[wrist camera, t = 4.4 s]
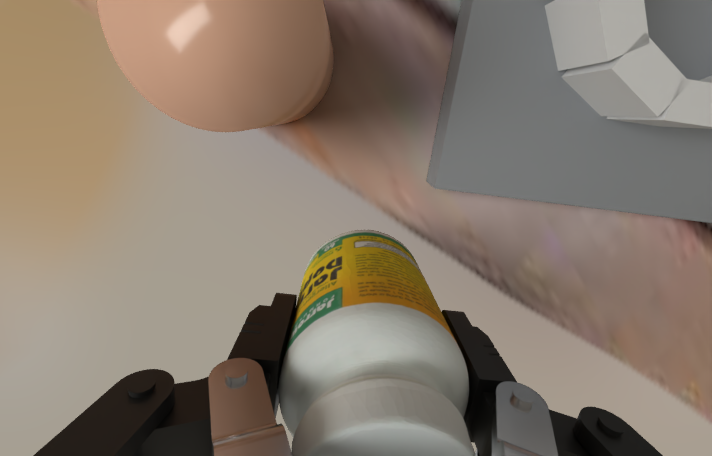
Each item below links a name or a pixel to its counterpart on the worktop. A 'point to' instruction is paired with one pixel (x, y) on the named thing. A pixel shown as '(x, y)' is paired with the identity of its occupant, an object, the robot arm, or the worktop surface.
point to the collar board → (581, 105)
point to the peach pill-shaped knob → (223, 58)
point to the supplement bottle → (371, 357)
